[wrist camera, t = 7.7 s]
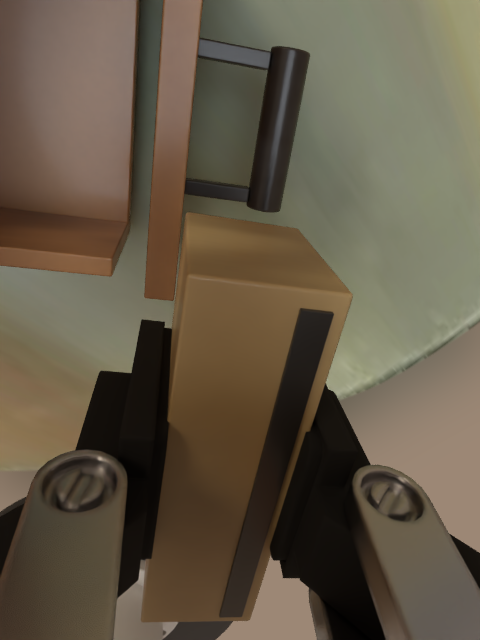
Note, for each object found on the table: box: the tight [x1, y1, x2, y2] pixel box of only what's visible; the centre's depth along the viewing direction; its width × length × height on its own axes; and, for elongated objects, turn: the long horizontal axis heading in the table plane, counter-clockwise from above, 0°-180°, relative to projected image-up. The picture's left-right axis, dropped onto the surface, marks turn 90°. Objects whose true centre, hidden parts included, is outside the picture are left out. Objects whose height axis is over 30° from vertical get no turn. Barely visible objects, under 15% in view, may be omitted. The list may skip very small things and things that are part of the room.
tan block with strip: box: [141, 212, 353, 622], centre depth 9 cm, size 2×8×4 cm, turn 170°
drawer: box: [0, 0, 310, 301], centre depth 17 cm, size 18×13×7 cm
